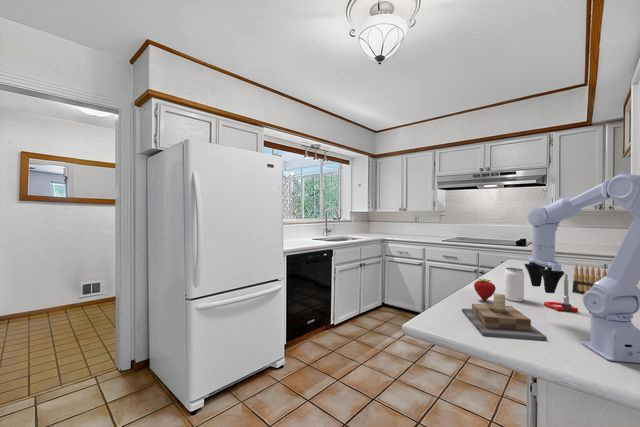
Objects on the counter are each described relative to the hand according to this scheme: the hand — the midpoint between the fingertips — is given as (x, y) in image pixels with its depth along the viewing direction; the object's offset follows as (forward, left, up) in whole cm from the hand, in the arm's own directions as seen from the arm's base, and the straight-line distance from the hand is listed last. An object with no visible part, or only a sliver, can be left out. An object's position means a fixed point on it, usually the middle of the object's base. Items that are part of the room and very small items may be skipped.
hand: (542, 289), depth 92 cm
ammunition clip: (+37, -36, -11) cm, 53 cm away
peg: (-4, +14, -9) cm, 17 cm away
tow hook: (+17, -14, -11) cm, 25 cm away
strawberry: (+20, +10, -11) cm, 25 cm away
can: (+24, -2, -11) cm, 26 cm away
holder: (-4, +14, -10) cm, 18 cm away
